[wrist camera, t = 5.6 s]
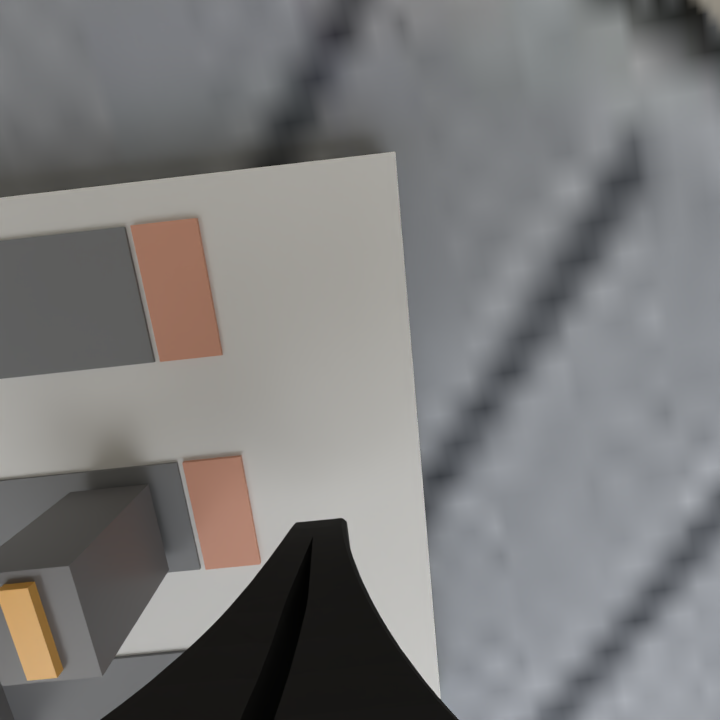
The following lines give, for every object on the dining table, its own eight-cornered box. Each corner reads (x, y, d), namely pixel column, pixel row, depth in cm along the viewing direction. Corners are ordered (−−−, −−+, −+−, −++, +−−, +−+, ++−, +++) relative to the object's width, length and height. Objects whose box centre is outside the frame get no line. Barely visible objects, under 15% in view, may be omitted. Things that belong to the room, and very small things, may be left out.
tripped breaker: (169, 569, 13) (97, 684, 9) (94, 577, 13) (-6, 694, 10) (148, 484, 12) (62, 572, 9) (69, 491, 12) (-48, 583, 9)
